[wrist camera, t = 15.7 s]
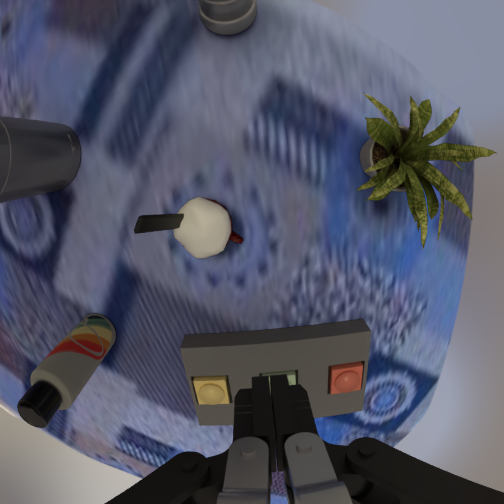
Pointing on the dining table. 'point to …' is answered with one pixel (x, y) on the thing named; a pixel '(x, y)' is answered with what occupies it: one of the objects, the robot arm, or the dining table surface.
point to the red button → (345, 377)
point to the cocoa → (195, 226)
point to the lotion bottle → (66, 370)
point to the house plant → (414, 161)
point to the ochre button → (212, 389)
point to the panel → (279, 363)
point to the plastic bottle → (227, 15)
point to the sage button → (289, 373)
